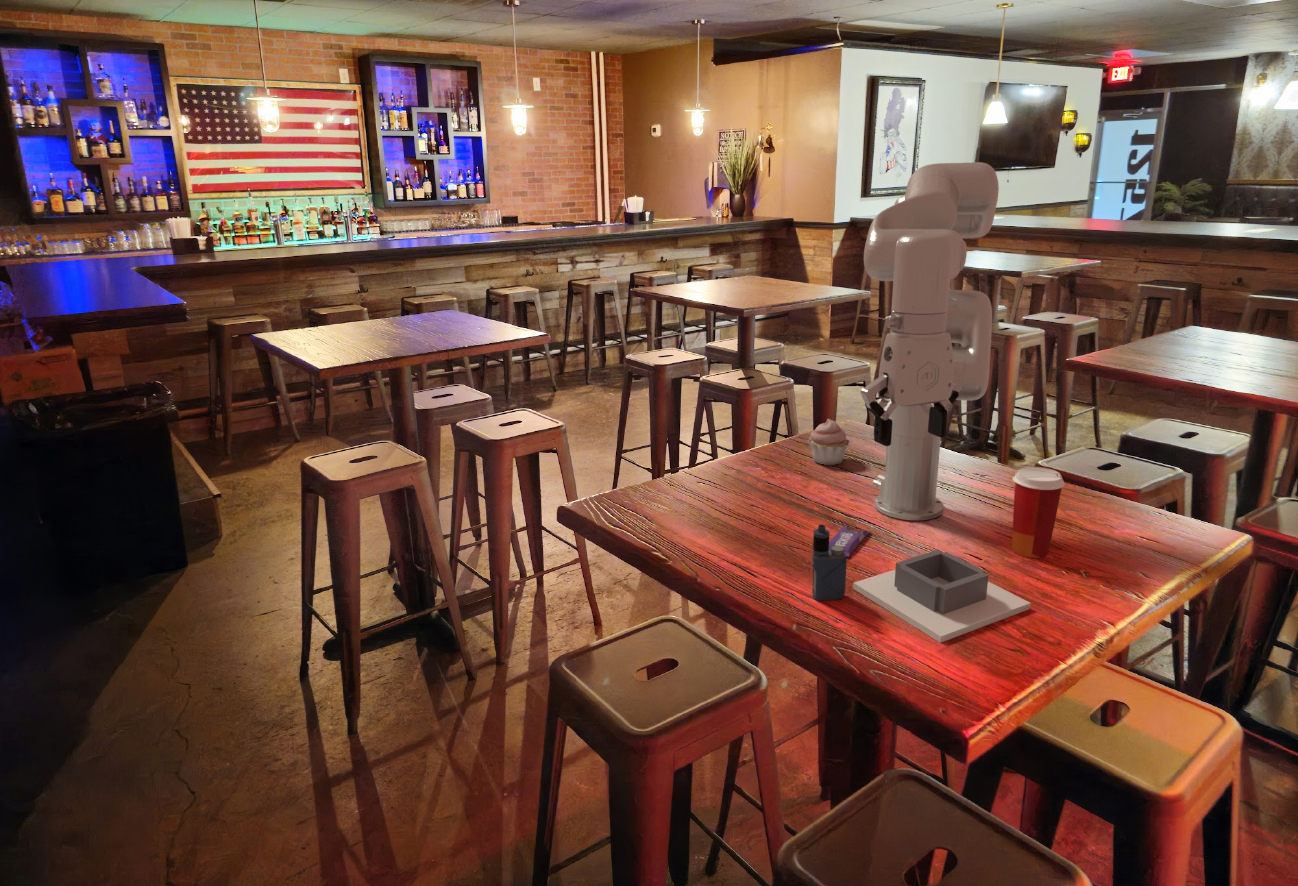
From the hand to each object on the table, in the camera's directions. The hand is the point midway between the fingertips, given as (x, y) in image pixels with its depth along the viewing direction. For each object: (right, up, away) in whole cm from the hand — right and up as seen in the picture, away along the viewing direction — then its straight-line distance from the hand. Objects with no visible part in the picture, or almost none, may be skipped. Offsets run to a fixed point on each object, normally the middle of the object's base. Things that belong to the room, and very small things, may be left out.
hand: (909, 439), depth 121 cm
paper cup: (+26, -19, +18) cm, 37 cm away
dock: (+6, -24, +4) cm, 25 cm away
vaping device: (-11, -24, +6) cm, 27 cm away
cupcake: (+2, -5, +63) cm, 63 cm away
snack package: (-4, -19, +23) cm, 30 cm away
